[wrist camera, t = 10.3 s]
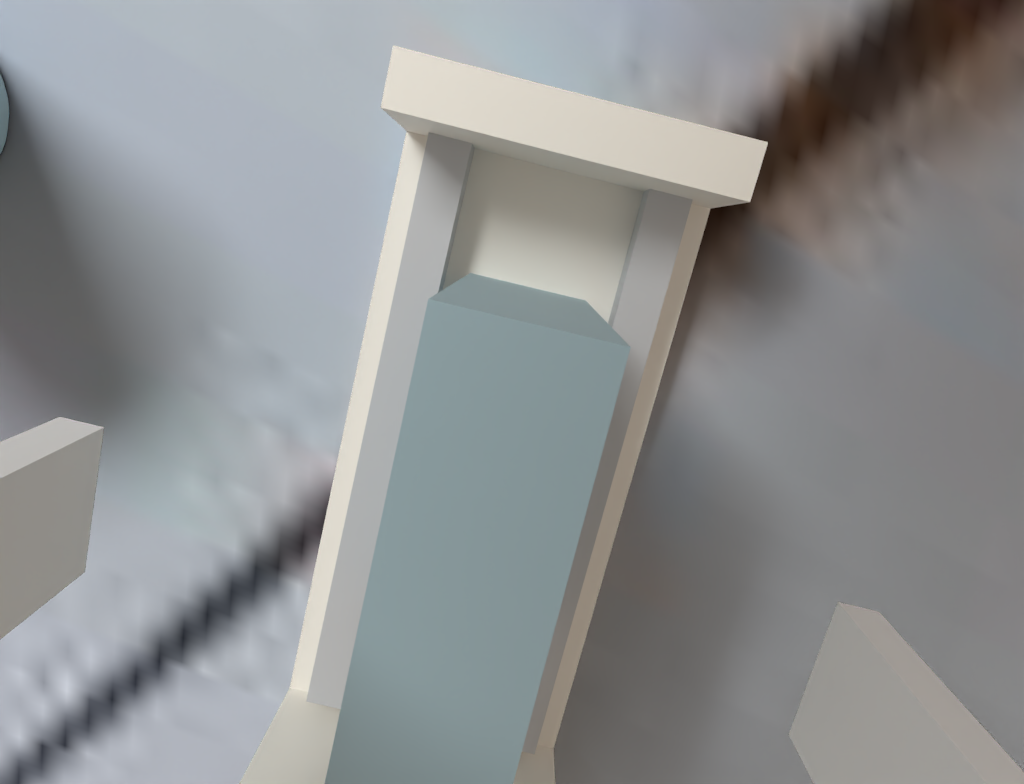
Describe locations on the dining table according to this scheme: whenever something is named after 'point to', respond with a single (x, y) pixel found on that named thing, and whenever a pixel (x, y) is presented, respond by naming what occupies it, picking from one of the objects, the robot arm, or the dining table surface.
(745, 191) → the track board
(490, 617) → the door panel
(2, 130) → the cup
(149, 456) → the dining table surface
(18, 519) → the robot arm
